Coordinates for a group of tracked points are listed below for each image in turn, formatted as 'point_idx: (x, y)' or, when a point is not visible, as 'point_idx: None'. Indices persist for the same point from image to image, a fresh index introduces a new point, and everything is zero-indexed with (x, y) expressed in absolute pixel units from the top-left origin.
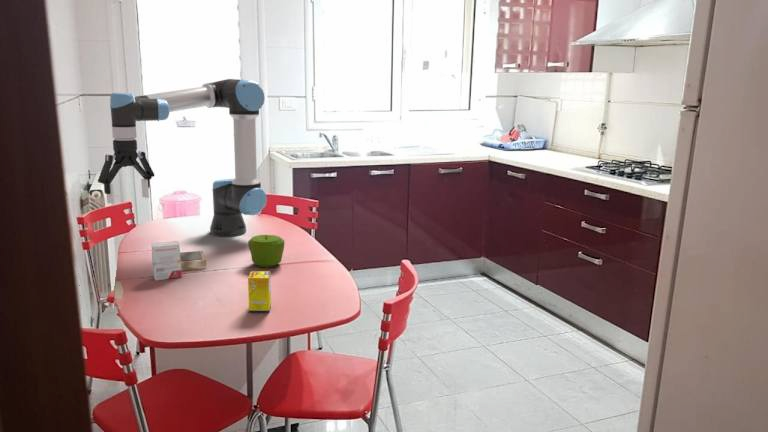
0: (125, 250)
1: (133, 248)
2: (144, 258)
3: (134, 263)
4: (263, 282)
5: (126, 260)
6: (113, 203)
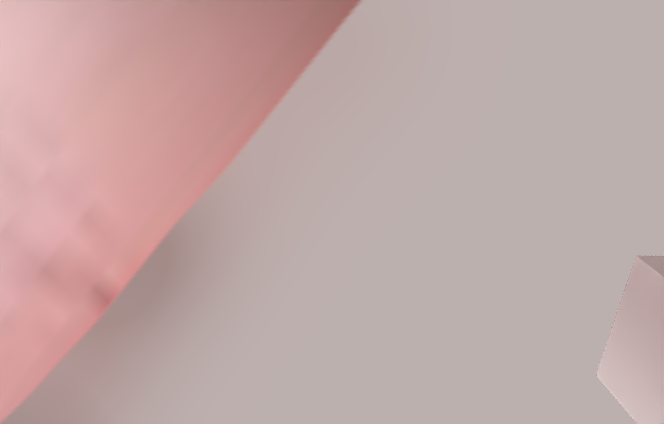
0: (80, 331)
1: (15, 331)
2: (104, 93)
3: (223, 55)
4: None
5: (212, 154)
6: (645, 257)
